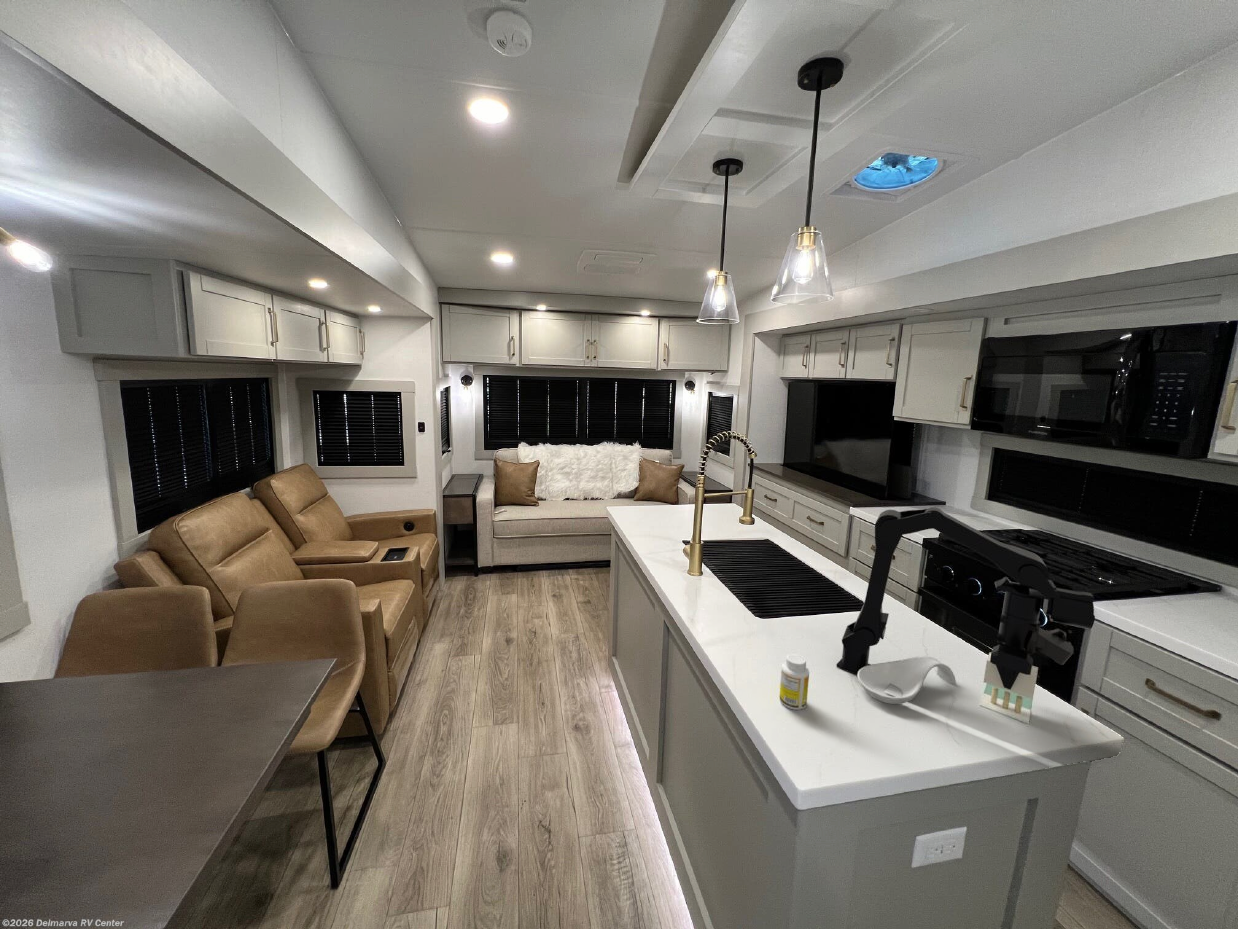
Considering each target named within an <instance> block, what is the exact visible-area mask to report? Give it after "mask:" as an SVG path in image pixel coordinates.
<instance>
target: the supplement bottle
mask: <svg viewBox="0 0 1238 929" xmlns="http://www.w3.org/2000/svg"><path fill="white" fill-rule="evenodd" d="M780 673H781V674H780V686H779V701H780V703H781V704H782V705H783V706H784V707H786V708H788V709H791V710H799V711H800V710H803V709H805V708H806V707H807V704H808V691H809V680H810V670H809V668H808V667H807V659H806V658H805V657H804V656H802V655H800V654H795V653H790V654H787V655H786V658H785V662H784V663H782V665H781V672H780Z"/></svg>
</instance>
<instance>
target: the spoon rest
mask: <svg viewBox="0 0 1238 929" xmlns="http://www.w3.org/2000/svg"><path fill="white" fill-rule="evenodd" d="M934 668H937V669H936V676H938V677H939V678H940V679H942V680H943V681H945V682H947V683H948V684H950V685H957V680H956V677H955V674H954V671H953V670H952V668H951V667H949V665H947V664H945V663H942V662H941V661H940V660H938V659H937V658H935V657H932V656H929V655H921V656H920V655H918V656H915V657H910V658H905V659H899V660H893V661H886V662H881V663H874V664H871V665H868V666H865V667H863V668H861V669H860V670H859V671H858V674H857V680H858V682H859V684H860V686H861V687H862V688H863V690H864V691H865V692H867V693H868V694H869V695H870V696H871V697H872V698H874V699H876V700H878V701H881V702H883V703H886V704H890V705H901V704H905V703H907V702H909V701H911V700H913V699H914V698H915V697H916V696H917V695H918V693H919V692H920V690H921V689H922V686H923V685H924V683H925V680H926V678H927V676H928V674H929V672H930V671H931V670H932V669H934ZM890 684H891V685H893V686H895V687H897V688H898V689H899V690H900V691H901V692H902V696H895V695H893V694H890V693H888V692H885V691H886V689H887V688H888V687H889V685H890Z"/></svg>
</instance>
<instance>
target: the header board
mask: <svg viewBox="0 0 1238 929" xmlns="http://www.w3.org/2000/svg"><path fill="white" fill-rule="evenodd" d="M1032 704H1033V699H1030V698H1027V697H1025V696H1022V695H1019V694H1016V693H1013V692H1010V691H1007V690H1005V689H1002V688H999V687H996V686H993V685H990V684H987V683H985V688H984V690H983V694H982V697H981V700H980V703H979V707H981V708H984V709H987V710H990V711H991V712H995V713H998V714H1001V715H1003V716H1006V717H1008V718H1011V719H1013V720H1017V721H1020V722H1022V723H1025V724H1027V725H1029V724H1030V718H1031V710H1032Z"/></svg>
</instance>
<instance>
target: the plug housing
mask: <svg viewBox="0 0 1238 929" xmlns="http://www.w3.org/2000/svg"><path fill="white" fill-rule="evenodd" d="M991 653H992V652H989V653H988V656H987V659H986V664H985V669H984V670H985V671H984V677H983V683H985V684H990V685H993V686H996V687H999V688H1002V689H1005V690H1007V691H1010V692H1013V693H1016V694H1019V695H1022V696H1025V697H1027V698H1030V699H1032V700H1033V699H1034V694H1035V689H1036V683H1037V677H1038V670H1039V667H1037V666H1034V665H1032V669H1031V675H1026V674H1022V673H1019V675H1018V676H1017V678H1016V680H1015V682H1014V684H1013V686H1012V688H1011V689H1010V690H1009V689H1006V688H1004V686H1003V683H1002V681H1001V678H1000V675H999V672H998V670H997V667H996V665H995V664H993V663H991V662H990V658H991Z"/></svg>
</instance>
